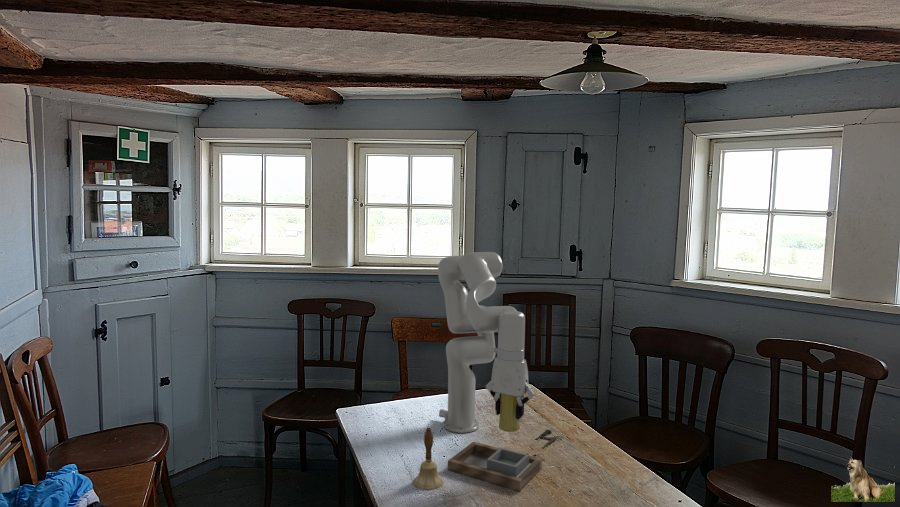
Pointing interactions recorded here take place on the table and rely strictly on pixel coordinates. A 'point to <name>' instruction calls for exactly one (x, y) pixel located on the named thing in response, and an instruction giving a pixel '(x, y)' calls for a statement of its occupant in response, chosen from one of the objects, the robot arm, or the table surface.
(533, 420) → the table surface
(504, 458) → the square serving tray
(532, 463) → the open wooden box
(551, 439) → the hacksaw
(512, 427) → the vase
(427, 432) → the hand bell
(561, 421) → the table surface
